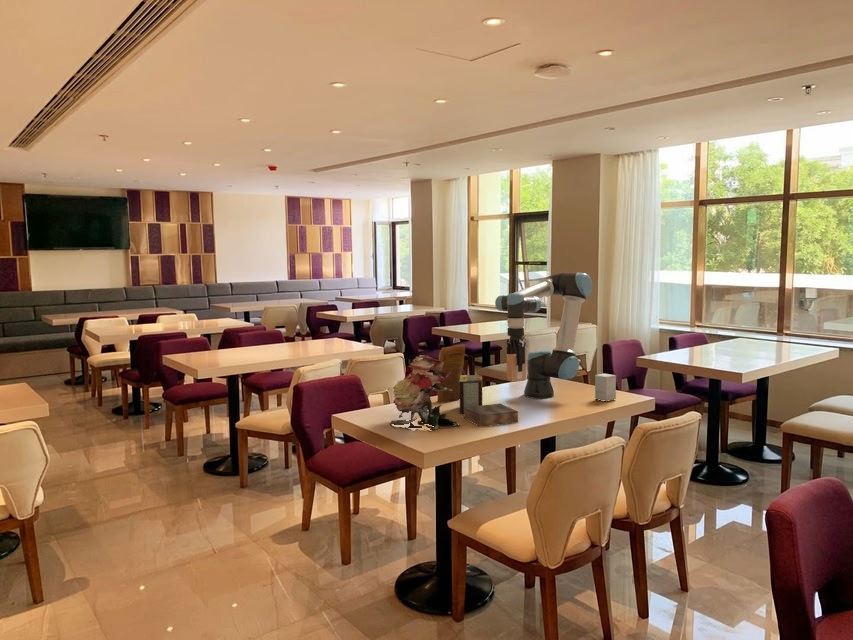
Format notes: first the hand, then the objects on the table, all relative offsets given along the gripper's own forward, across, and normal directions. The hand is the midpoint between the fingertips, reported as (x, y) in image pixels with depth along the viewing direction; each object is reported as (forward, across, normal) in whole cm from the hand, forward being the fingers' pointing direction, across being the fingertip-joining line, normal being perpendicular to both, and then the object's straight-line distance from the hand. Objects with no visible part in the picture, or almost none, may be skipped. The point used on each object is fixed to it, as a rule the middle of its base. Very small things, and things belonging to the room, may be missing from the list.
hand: (516, 377), depth 290 cm
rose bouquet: (+16, +4, -49) cm, 52 cm away
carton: (+1, 0, 0) cm, 1 cm away
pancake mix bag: (+16, -34, -18) cm, 42 cm away
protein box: (+16, -10, -18) cm, 26 cm away
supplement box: (+17, -3, +52) cm, 54 cm away
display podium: (+16, +10, -18) cm, 26 cm away
